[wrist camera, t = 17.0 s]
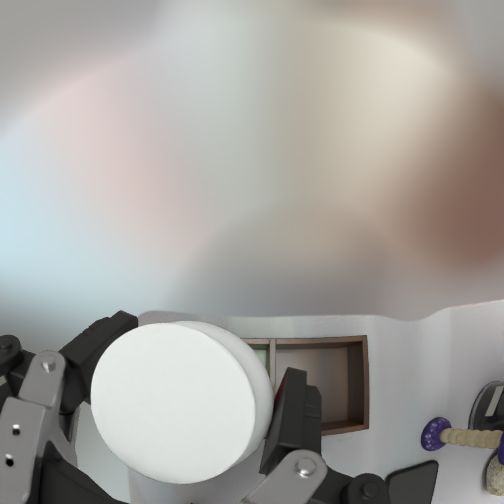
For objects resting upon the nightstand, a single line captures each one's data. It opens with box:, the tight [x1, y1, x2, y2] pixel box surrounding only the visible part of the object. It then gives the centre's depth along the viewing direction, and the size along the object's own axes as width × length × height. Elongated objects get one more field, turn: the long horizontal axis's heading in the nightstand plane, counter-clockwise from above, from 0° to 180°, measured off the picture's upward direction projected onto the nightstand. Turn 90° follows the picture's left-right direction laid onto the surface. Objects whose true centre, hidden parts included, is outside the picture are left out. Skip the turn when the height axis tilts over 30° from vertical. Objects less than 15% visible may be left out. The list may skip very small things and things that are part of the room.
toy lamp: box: [421, 417, 504, 465], centre depth 12 cm, size 5×5×17 cm
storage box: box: [240, 335, 369, 439], centre depth 21 cm, size 16×8×4 cm, turn 89°
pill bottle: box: [91, 321, 274, 484], centre depth 11 cm, size 6×6×11 cm
